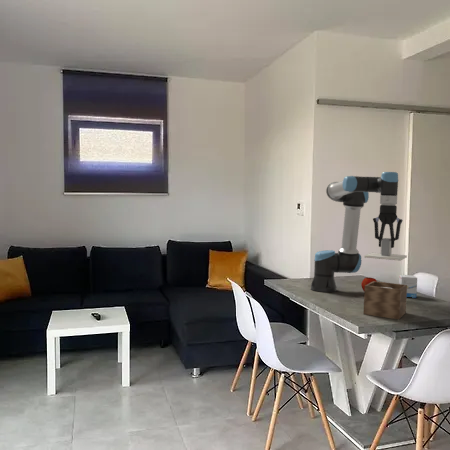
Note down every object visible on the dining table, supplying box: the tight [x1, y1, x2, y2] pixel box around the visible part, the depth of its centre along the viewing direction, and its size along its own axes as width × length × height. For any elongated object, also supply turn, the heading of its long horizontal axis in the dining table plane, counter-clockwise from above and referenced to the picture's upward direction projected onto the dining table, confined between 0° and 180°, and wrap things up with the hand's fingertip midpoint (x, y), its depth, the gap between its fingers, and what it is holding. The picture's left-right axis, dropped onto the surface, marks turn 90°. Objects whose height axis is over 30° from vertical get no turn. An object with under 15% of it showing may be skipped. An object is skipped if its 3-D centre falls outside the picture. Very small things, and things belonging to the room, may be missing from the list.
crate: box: [363, 280, 407, 320], centre depth 223 cm, size 16×16×14 cm
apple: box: [360, 277, 378, 293], centre depth 264 cm, size 9×8×11 cm
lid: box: [364, 237, 408, 262], centre depth 222 cm, size 16×16×9 cm
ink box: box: [398, 274, 418, 299], centre depth 267 cm, size 8×8×12 cm
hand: (385, 254), depth 223 cm, fingers closed on lid, 3 cm apart
